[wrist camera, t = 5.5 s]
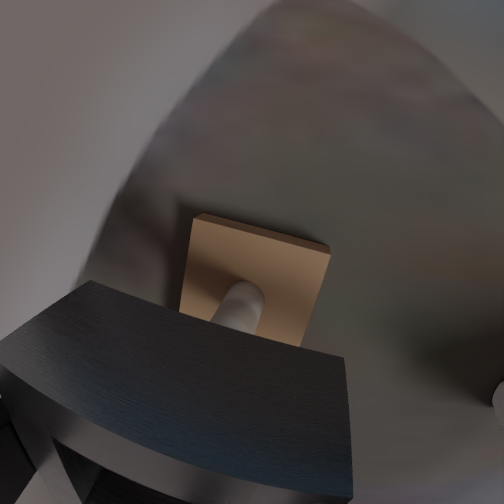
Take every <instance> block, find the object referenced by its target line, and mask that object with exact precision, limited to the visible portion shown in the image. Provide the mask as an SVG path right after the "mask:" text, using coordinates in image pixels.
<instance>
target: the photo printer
mask: <svg viewBox="0 0 504 504" xmlns="http://www.w3.org/2000/svg"><path fill="white" fill-rule="evenodd" d="M492 404H493V406H494V408H495V410H494V412H495V414H496V417H497V419H498V421H499V424H500V426H501V428H502V430H503V432H504V381H503V382H501V383H500V384H499V386H498V387H497V389H496V390H495V392H494V395H493V398H492Z"/></svg>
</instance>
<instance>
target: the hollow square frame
mask: <svg viewBox="0 0 504 504" xmlns="http://www.w3.org/2000/svg"><path fill="white" fill-rule="evenodd" d="M0 395H1V398H2V400H3V403H4V405H5V407H6V410H7V412H8V414H9V417H10V419H11V421H12V423H13V425H14V428H15V430H16V432H17V434H18V436H19V438H20V440H21V442H22V444H23V446H24V448H25V450H26V451H27V453H28V455H29V457H30V459H31V461H32V462H33V464H34V466H35V468H36V469H37V471H38V473H39V474H40V476H41V478H42V480H43V481H44V483H45V484H46V486H47V487H48V489H49V491H50V492H51V493H52V495H53V497H54V498H55V499H56V500H57V501H59V502H61V503H62V504H347V503H348V502H349V501H350V500H351V499H353V469H352V448H351V431H350V417H349V404H348V393H347V382H346V372H345V363H344V358H343V357H339V356H334V355H330V354H326V353H322V352H317V351H313V350H309V349H305V348H301V347H297V346H293V345H290V344H286V343H282V342H278V341H275V340H271V339H267V338H264V337H260V336H256V335H253V334H249V333H246V332H242V331H239V330H236V329H232V328H229V327H225V326H222V325H219V324H216V323H212V322H209V321H206V320H203V319H200V318H196V317H193V316H190V315H187V314H184V313H181V312H178V311H175V310H172V309H169V308H166V307H163V306H160V305H157V304H154V303H152V302H149V301H146V300H143V299H140V298H137V297H135V296H132V295H129V294H126V293H124V292H121V291H118V290H116V289H113V288H110V287H108V286H105V285H103V284H100V283H97V282H95V281H92V280H89V281H87V282H86V283H84V284H83V285H81V286H79V287H78V288H76V289H75V290H73V291H72V292H70V293H69V294H67V295H66V296H64V297H63V298H61V299H60V300H58V301H57V302H55V303H54V304H52V305H51V306H49V307H48V308H47V309H45V310H43V311H42V312H41V313H39V314H38V315H37V316H35V317H33V318H32V319H30V320H29V321H28V322H26V323H25V324H23V325H22V326H21V327H19V328H18V329H16V330H15V331H14V332H12V333H11V334H9V335H8V336H6V337H5V338H4V339H2V340H1V341H0Z"/></svg>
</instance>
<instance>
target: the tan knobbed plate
mask: <svg viewBox="0 0 504 504" xmlns="http://www.w3.org/2000/svg"><path fill="white" fill-rule="evenodd" d="M330 256H331V253H330V248H329V246H326V245H322V244H319V243H315V242H312V241H308V240H304V239H301V238H297V237H293V236H290V235H286V234H282V233H278V232H275V231H271V230H267V229H263V228H260V227H256V226H252V225H248V224H244V223H241V222H237V221H233V220H229V219H225V218H221V217H217V216H213V215H210V214H206V213H202V214H200V215H198V216H197V217H195V218H194V219H193V224H192V230H191V236H190V242H189V248H188V255H187V261H186V267H185V274H184V281H183V288H182V295H181V302H180V309H179V312H181V313H184V314H187V315H190V316H193V317H196V318H200V319H203V320H206V321H209V322H212V323H216V324H219V325H222V326H225V327H229V328H232V329H236V330H239V331H242V332H246V333H249V334H253V335H256V336H260V337H264V338H267V339H271V340H275V341H278V342H282V343H286V344H290V345H293V346H297V347H300V344H301V341H302V339H303V336H304V333H305V330H306V327H307V325H308V322H309V319H310V316H311V313H312V311H313V308H314V305H315V302H316V299H317V296H318V293H319V290H320V287H321V284H322V281H323V278H324V275H325V272H326V269H327V266H328V262H329V259H330Z"/></svg>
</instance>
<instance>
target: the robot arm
mask: <svg viewBox="0 0 504 504" xmlns="http://www.w3.org/2000/svg"><path fill="white" fill-rule="evenodd" d="M36 471H37V469H36V468H35V466H34V464H33V462H32V461H31V459H30V457H29V455H28V453H27V451H26V450H25V448H24V446H23V444H22V442H21V440H20V438H19V436H18V434H17V432H16V430H15V428H14V425H13V423H12V421H11V419H10V417H9V414H8V412H7V410H6V407H5V405H4V403H3V400H2V398H0V504H15V502H16V501H17V499H18V498H19V496H20V495H21V493H22V492H23V490H24V489H25V487H26V486H27V484H28V483H29V481H30V480H31V478H32V477H33V475H34V474H35V473H36Z"/></svg>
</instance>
